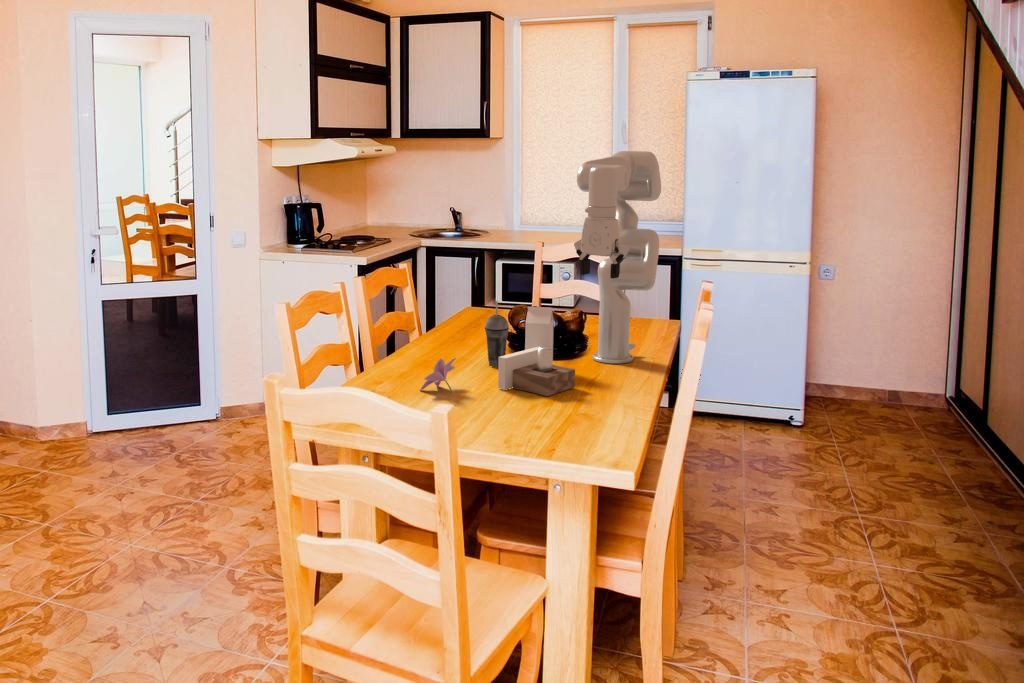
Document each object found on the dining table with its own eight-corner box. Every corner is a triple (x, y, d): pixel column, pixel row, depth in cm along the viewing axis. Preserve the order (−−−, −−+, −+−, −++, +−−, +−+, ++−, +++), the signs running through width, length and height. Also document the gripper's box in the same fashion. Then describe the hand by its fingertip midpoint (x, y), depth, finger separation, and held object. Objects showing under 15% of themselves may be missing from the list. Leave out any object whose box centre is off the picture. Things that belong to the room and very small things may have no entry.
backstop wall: (539, 376, 256) (540, 346, 254) (546, 378, 255) (546, 347, 253) (498, 389, 243) (498, 356, 241) (504, 390, 241) (505, 358, 239)
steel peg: (542, 381, 247) (543, 345, 245) (554, 383, 244) (555, 347, 242) (533, 383, 244) (534, 348, 242) (545, 386, 241) (546, 350, 239)
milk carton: (548, 374, 259) (550, 310, 254) (524, 373, 260) (525, 308, 256) (552, 368, 265) (554, 305, 261) (528, 367, 267) (530, 304, 263)
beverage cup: (509, 363, 271) (510, 298, 267) (507, 369, 264) (508, 302, 260) (486, 362, 272) (486, 297, 267) (482, 368, 265) (483, 301, 260)
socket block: (540, 379, 252) (540, 362, 251) (574, 387, 245) (575, 369, 244) (512, 387, 243) (513, 369, 242) (547, 396, 236) (548, 377, 235)
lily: (461, 388, 247) (446, 357, 247) (475, 382, 237) (459, 349, 237) (424, 406, 242) (408, 374, 243) (436, 401, 232) (420, 367, 232)
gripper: (568, 211, 243) (566, 274, 247) (621, 216, 232) (618, 281, 236) (584, 210, 249) (582, 271, 253) (636, 214, 238) (634, 278, 242)
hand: (599, 276), depth 244 cm, fingers open, 9 cm apart
